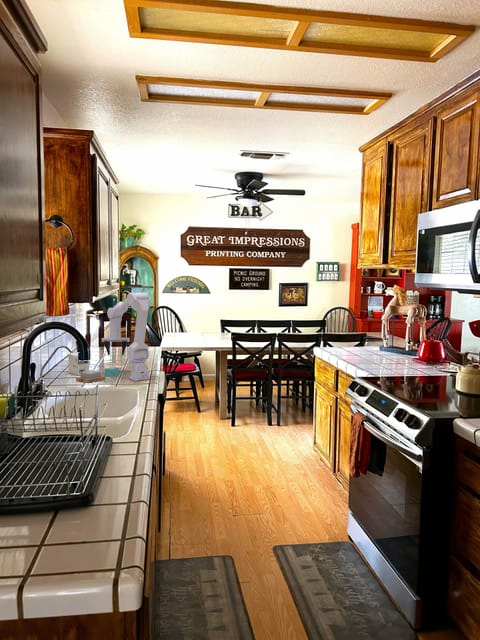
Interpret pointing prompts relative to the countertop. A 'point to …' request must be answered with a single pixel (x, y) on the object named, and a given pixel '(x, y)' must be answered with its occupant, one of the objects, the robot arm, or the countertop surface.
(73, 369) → the light bulb box
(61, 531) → the countertop surface
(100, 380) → the walnut base slab
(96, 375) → the grey middle slab
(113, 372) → the teal block
